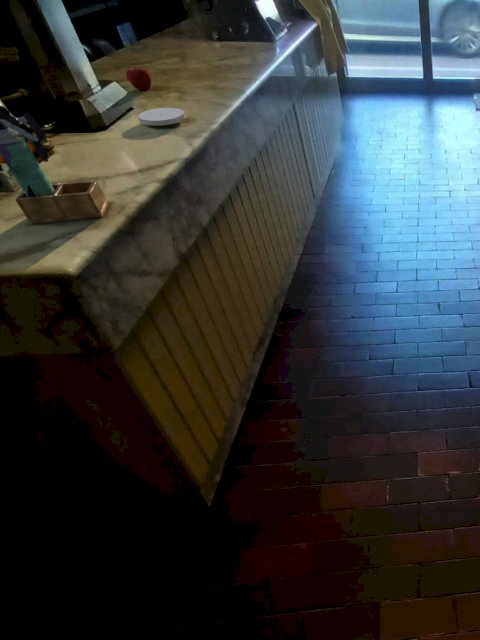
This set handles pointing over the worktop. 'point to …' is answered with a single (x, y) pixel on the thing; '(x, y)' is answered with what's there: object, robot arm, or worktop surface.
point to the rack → (65, 203)
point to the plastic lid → (162, 116)
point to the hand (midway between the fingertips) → (24, 164)
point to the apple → (139, 78)
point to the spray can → (23, 163)
